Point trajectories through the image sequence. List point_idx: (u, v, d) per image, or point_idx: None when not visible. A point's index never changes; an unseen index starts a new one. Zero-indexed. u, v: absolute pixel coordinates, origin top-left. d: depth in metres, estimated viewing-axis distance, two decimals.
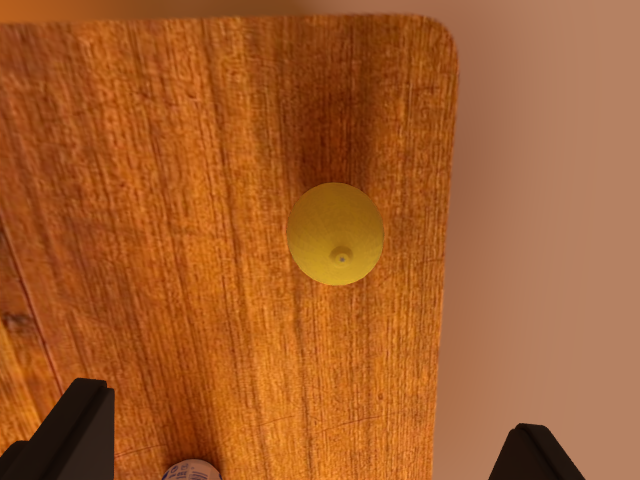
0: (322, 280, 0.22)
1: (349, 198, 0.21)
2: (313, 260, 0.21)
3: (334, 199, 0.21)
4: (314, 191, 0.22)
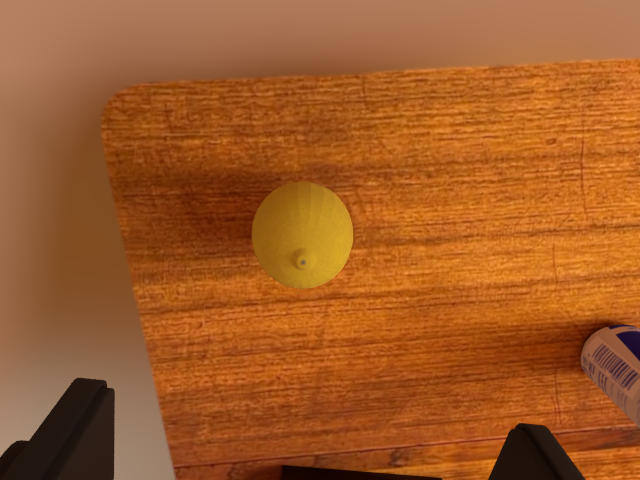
0: (337, 267, 0.21)
1: (254, 233, 0.21)
2: (310, 281, 0.20)
3: (255, 249, 0.21)
4: None
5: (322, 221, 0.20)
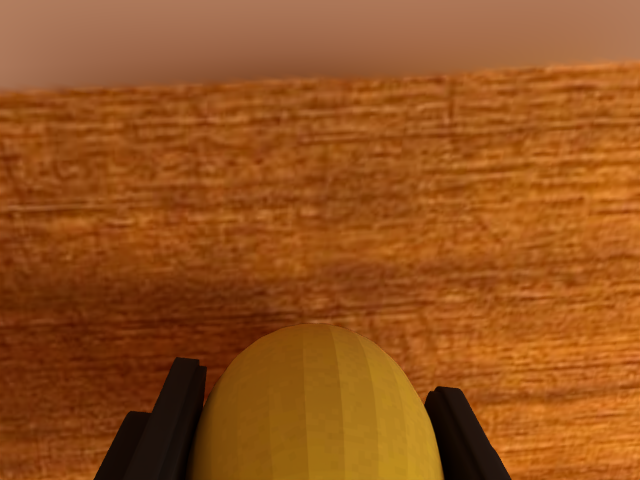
0: None
1: None
2: None
3: None
4: None
5: None
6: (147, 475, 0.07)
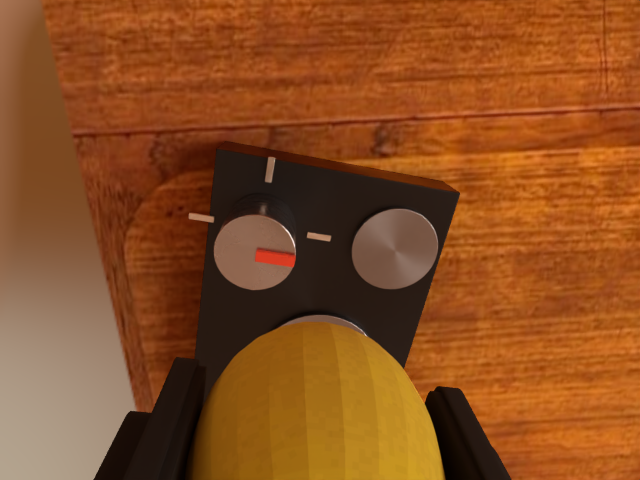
0: None
1: None
2: None
3: None
4: None
5: None
6: (147, 475, 0.07)
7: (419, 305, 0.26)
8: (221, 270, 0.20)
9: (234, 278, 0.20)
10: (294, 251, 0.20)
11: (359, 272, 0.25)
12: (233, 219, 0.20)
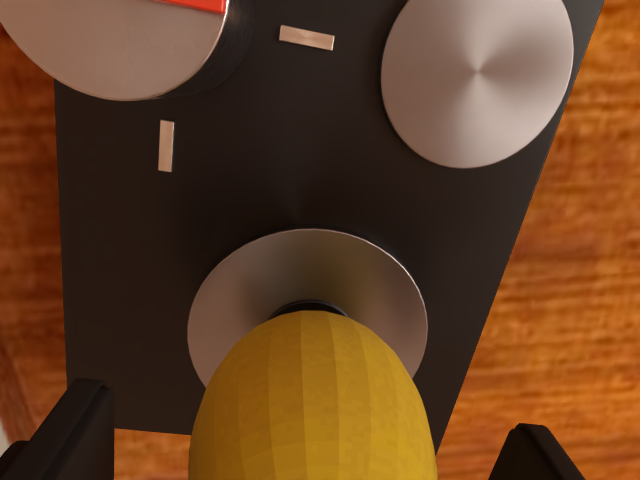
0: None
1: None
2: None
3: None
4: None
5: None
6: None
7: (517, 210, 0.13)
8: (10, 30, 0.07)
9: (54, 59, 0.07)
10: None
11: (397, 126, 0.11)
12: None
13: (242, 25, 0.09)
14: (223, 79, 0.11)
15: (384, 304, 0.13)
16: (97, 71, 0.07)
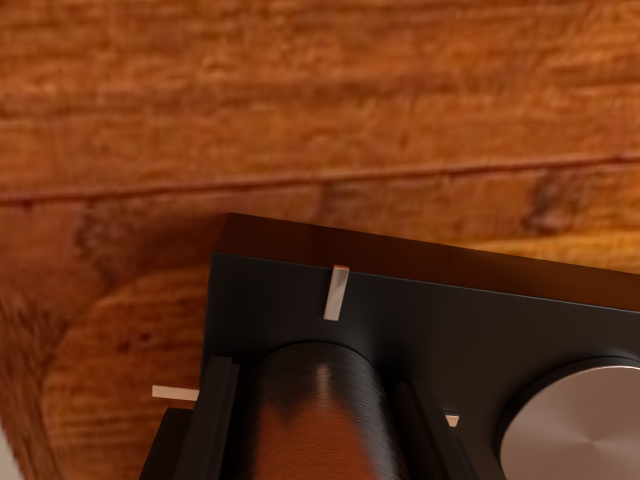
0: None
1: None
2: None
3: None
4: None
5: None
6: (197, 468, 0.07)
7: None
8: None
9: None
10: None
11: None
12: None
13: None
14: None
15: None
16: None
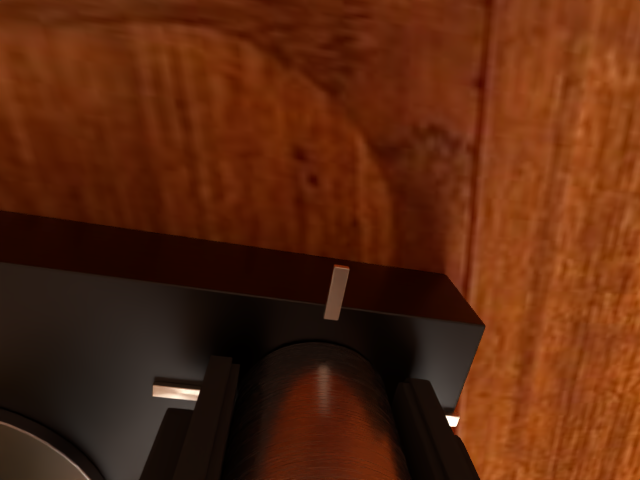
0: None
1: None
2: None
3: None
4: None
5: None
6: (197, 467, 0.07)
7: None
8: None
9: None
10: None
11: None
12: None
13: None
14: None
15: None
16: None
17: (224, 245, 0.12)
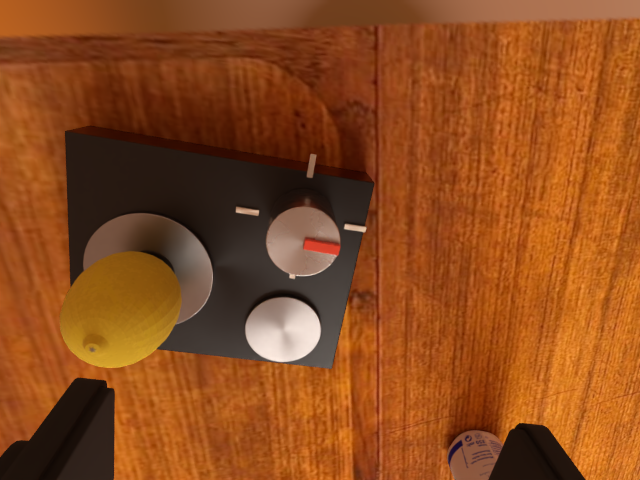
0: (92, 364, 0.20)
1: (117, 277, 0.20)
2: (71, 347, 0.19)
3: (98, 280, 0.20)
4: (92, 266, 0.21)
5: (140, 350, 0.20)
6: None
7: (227, 353, 0.29)
8: (271, 257, 0.22)
9: (283, 265, 0.22)
10: (339, 241, 0.22)
11: (261, 305, 0.27)
12: (285, 210, 0.21)
13: None
14: None
15: None
16: (295, 268, 0.23)
17: (263, 155, 0.27)
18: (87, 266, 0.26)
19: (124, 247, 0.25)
